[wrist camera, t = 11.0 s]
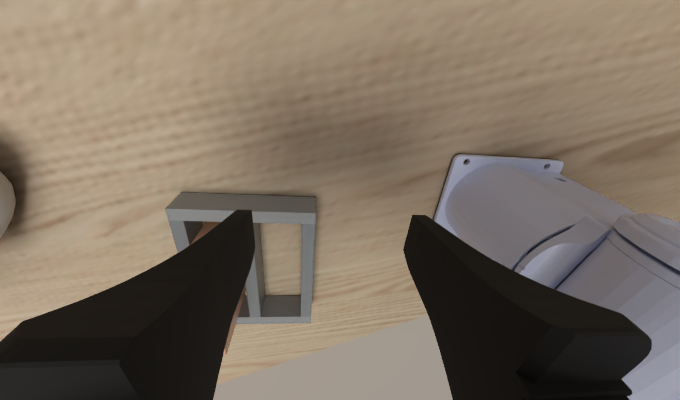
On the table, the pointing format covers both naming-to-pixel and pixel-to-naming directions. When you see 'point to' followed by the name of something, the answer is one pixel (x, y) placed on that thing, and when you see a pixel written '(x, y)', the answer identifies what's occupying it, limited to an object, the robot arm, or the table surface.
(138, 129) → the table surface
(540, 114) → the table surface
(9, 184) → the donut
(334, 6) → the table surface
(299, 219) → the dish rack
